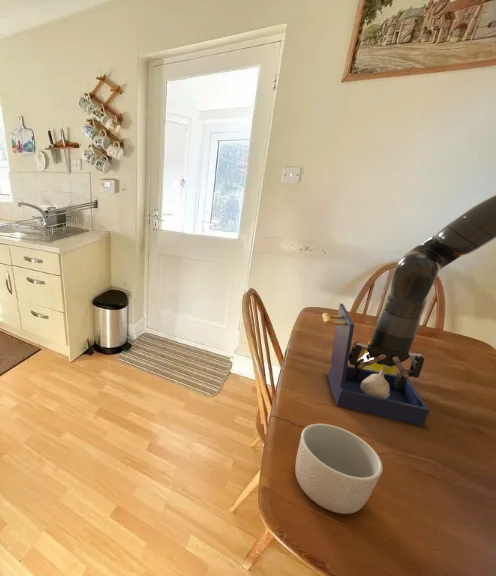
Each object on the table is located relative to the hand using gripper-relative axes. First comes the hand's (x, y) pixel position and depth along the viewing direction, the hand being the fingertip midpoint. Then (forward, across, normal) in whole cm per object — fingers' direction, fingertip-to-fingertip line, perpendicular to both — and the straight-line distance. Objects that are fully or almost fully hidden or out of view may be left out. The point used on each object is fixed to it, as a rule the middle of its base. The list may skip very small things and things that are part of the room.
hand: (376, 382), depth 83 cm
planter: (+6, -15, -35) cm, 39 cm away
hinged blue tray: (+6, 0, 0) cm, 6 cm away
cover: (-9, -9, 0) cm, 13 cm away
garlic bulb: (+5, 0, 0) cm, 5 cm away
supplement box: (+6, +4, +13) cm, 15 cm away
